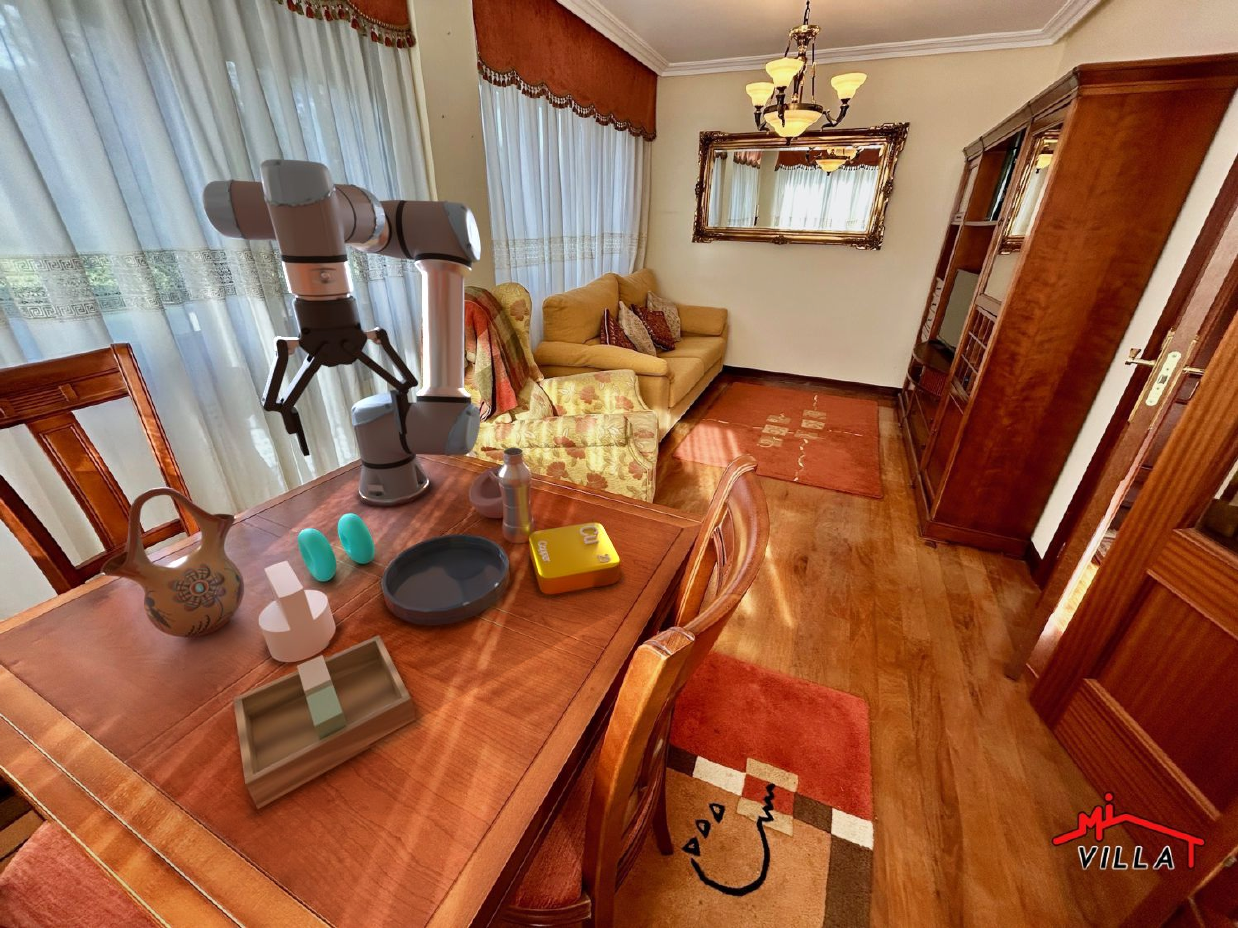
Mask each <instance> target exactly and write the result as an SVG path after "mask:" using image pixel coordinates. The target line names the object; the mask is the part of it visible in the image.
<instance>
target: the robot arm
mask: <svg viewBox="0 0 1238 928" xmlns="http://www.w3.org/2000/svg"><path fill="white" fill-rule="evenodd" d="M259 172H260V177H261V181H253V180H252V181H250V180H249V181H248V180H235V179H231V178H230V179H229V180H213V181H210V182H209V183H207V184H206V185H205V187H204V188H203V191H202V195H201V202H202V205H203V209H204V215H205V216H206V219H207V220H208V222H209V224H210V225H211V226H212V228H213V229H214V230H215V231H216V232H218V233H219V234H220V235H221V236H223V237H225V238H228V239H233V240H243V241H266V242H267V241H269V242H277V245H278V249H279V253H280V254H279V255H280V260H281V263H282V267H283V272H284V276H285V280H286V284H287V289H288V292H289V293H290V294H291V295H293V296H295V297H294V298H293V299H292V301H291V305H292V308H293V312H294V316H295V320H296V324H297V328H298V336H297V337H283V336H281V335H276V336H274V337H273V347H274V348H273V349H274V356H273V359H272V362H271V366H270V368H269V373H268V377H267V380H266V383H265V386H264V390H263V393H262V397H261V400H260V404H261V406H262V408H263V410H264V411H265V412H269V413H270V412H277V413H279V414H280V416H281V420H282V423H283V427H284V429H285V431H286V433H287V434H288V435H294V434H295V435H296V439H297V442H298V446H299V449H300V451H301V454H302V455H303V457H308V456H310V455H311V453H310V450H309V445H308V442H307V439H306V435H305V431H304V428H303V427H304V426H303V423H302V419H301V417H300V413H299V411H298V409H297V408H296V404H297V402H298V401H299V399H300V398H301V396H302V395H303V393H304V391H305V390H306V388H307V387H308V385H309V384H310V382H311V381H312V379H313V378H314V376H315V375H316V373H318V371H320V369H321V368H322V366H323V367H327V368H334V367H338V366H340V365H343V366H350V365H353V364H354V363H355V362H356V361H357V360H358V361H360V362H361V363H362V364H364V365H365V366H366V367H367V368H369V369H370V370H371V371H373V372H374V373H375V374H376V375H378V376H379V377H380V378H381V379H383V380H384V381H385V382H386V383H388V384H389V385H390V386H391V387H393V388H394V389H392V390H389V392H385V393H379V394H374V395H371V396H368V397H365V398H363V399H360V400H358V401H357V402H356V403H354V405H352V407H351V411H350V413H351V421H352V424H351V425H352V427H353V431H354V435H355V440H356V444H357V449H358V453H359V456H360V461H361V472H360V479H359V485H358V493H359V497H360V500H361V501H362V502H363V503H365V504H367V505H370V506H375V507H394V506H395V507H396V506H400V505H404V504H408V503H410V502H413V501H416V500H418V499H419V498H421V497H423V496H424V495H425V494H426V493H427V492H428V490H429V488H430V481H429V477H428V475H427V473H426V471H425V470H424V468H423V466H422V464H421V463H420V461H419V459H418V457H417V455H429V456H430V455H431V456H446V457H451V456H466V455H468V454H469V453H471V451H472V450H473V449H474V447H475V445H476V443H477V440H478V437H479V434H480V427H481V413H480V408H479V406H478V405H477V404H474V403H472V395H471V394H470V393H469V392H468V391H467V390H466V389H465V279H466V278H468V276H470V275H471V274H472V265H473V264H475V263H477V262H480V260H481V254H482V249H481V248H482V247H481V239H480V234H479V229H478V225H477V222H476V219H475V216H474V214H473V212H472V210H471V208H470V207H468V206H467V204H465V203H462V202H455V201H448V200H444V201H439V200H411V199H410V200H407V199H405V200H404V199H389V200H387V199H386V200H379V199H378V198H377V197H376V195H375V194H373V193H372V192H371V191H369V190H368V189H366V188H364V187H360V186H357V185H356V184H352V183H350V184H346V183H345V184H344V183H343V184H342V183H335V182H334V180H333V177H332V173H331V170H330V169H329V168H328V166H327V165H325V164H324V163H323V162H317V161H311V160H310V161H309V160H308V161H307V160H299V159H282V158H281V159H280V158H273V159H265V160H263V161H262V162H261V163H260V166H259ZM346 247H353V248H354V249H355V250H357V251H359V252H362V253H366V254H367V253H368V254H374V255H375V254H376V255H380V256H385V257H390V258H395V259H402V260H411V261H414V267H415V268H416V269H417V270H418V271H419V272H420V274H421V275H422V337H423V338H422V350H423V351H422V353H423V354H422V357H423V359H422V361H423V363H422V364H423V387H422V388H421V389H420V390H419V391H418V392H417V393H416V394H415V395H416V396H415V397H416V399H415V401H416V402H412V401H411V402H410V401H409V396H408V394H409V392H410V389H412V388H417V387H418V386H419V380H418V379H417V378H416V377H415V375H414V374H413V373H412V371H411V369H410V368H409V367H408V366H407V364H406V363H405V361H403V359H402V357H401V356H400V355H399V353H398V352H397V351H396V350H395V348H394V347H393V345H392V344H391V341H390V338H389V336H388V335H389V334H388V332H387V330H386V329H384V328H383V327H381V326H378V325H375V326H374V327H373V328H372V329H368V330H364V329H363V327H362V324H361V318H360V314H359V308H358V304H357V298H355V297H354V296H353V295H351V294H352V293H353V292H354V290H355V287H354V283H353V279H352V273H351V269H350V265H349V259H348V253H347V249H346ZM368 340H371V342H372V343H373V344H374V345H378V347H379V348H380V349H381V351H382V352H383V354H384V355H385V356H386V357H387V358H388V360H389V361H390V362H391V364H392V365H393V367H394V368H395V369H396V370H397V372H398V373H399V375H400V376H401V377H402V378H403V379H402V380H398V379H397V378H396V377H395V376H394V375H392V374H391V373H390V372H388V371H387V370H386V369H385V368H383V367H382V366H381V365H380V364H378V362H376V361H375V360H374V359H373V358H371V357H370V356H369V355H367V354H366V353H365V352H364V351H363V349H364V348H365V346H366V344H367V342H368ZM296 348H300V349H302V350H303V351H304V352H305V353H306V354H307V355H306V357H305V358H304V360H303V362H302V365H301V366H300V368H299V369H298V371H297V372H296V374H295V376H294V377H293V379H292V380H291V382H290V383H289V385H288V386H287V388H286V390H284V393H283V395H282V396H281V397H280V399H279V400H278V397H279V395H280V390H281V388H282V384H283V381H284V377H285V375H286V374H285V373H286V370H287V367H288V364H289V358H290V356H292V355H294V353H295V351H296Z"/></svg>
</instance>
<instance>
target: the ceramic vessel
mask: <svg viewBox="0 0 1238 928" xmlns="http://www.w3.org/2000/svg"><path fill="white" fill-rule="evenodd" d="M159 496H168V497H171V498H173V499H174V500H175V502H177V503H178V504H179V505H181V506H182V507H183V508H184V509H185V510H186V511H187V512H188V513H189V514H190V515H191V517H192V518H193V520H194V521H195V523H196V524H197V526H198V528H199V530H200V533H201V539H200V542H199V544H198V546H197V547H196V548H195V549H194V550H193V551H192V552H190V553H188V554H187V555H184V556H181V557H180V558H177V559H175V560H173V561H171V562H169V563H166V564H157V563H155V562H152V561H151V560H150V558H149V557H148V555H147V552H146V550H145V548H144V544H143V540H142V535H141V514H142V508H143V506H144V504H145V503H146V502H148V501H149V500H151V499H153V498H155V497H159ZM236 520H237V516H235V515H234V514H229V513H212V514H211V512H209V511H206V510H205V509H203V508H202V507H200V506H198V505H197V504H196V503H194V502H193V501H192V500H190V499H189V498H188V497H187V496H186V495H185V494H183V493H182V492H180V490H179V491H178V490H177V489H175V488H172V487H155V488H149V489H148V490H146V491H144V492H143V493H141V494H140V495H138V496H137V497H135V499H134V500H133V502H132V503H131V505H130V508H129V513H128V530H127V539H126V544H125V546H124V550H123V551H122V552H119V553H117V554H115V555H113V556H111V557H109V558H108V559H107V560H106V561H105V562H104V563H103V564H102V566H101V567H100V574H101V575H103V576H108V577H116V578H124V579H127V580H131V581H134V582H136V584H138V585H139V586H140V587H141V588H142V590H143V592H144V598H143V606H144V610H145V614H146V616H147V619H148V620H149V622H150V623H151V624H152V625H153V626H154V628H156V629H157V630H159V631H160V632H162V633H163V634H164V633H165V634H166V635H169V636H173V637H176V638H197V637H202V636H206V635H208V634H211V633H213V632H215V631H217V630H219V629H220V628H222V627H223V626H225V625H226V624H227V623H228V622H229V621H230V620H231V619H232V618H233V616H234V615H235V614H236V613H237V611H238V609H239V608H240V606H241V604H242V601H243V598H244V594H245V582H244V577H243V574H242V572H241V570H240V568H239V567H238V566H237V565H236V564H235V563H234V562H233V561H232V560H231V559H230V558H229V556H228V555H227V554H226V551H225V544H226V543H225V542H226V539H227V535H228V534H229V532H230V529H231V527H233V525H234V523H235V522H236Z"/></svg>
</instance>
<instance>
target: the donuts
mask: <svg viewBox="0 0 1238 928" xmlns="http://www.w3.org/2000/svg"><path fill="white" fill-rule="evenodd" d="M337 534H338V538H339V541H340V543H341V546H342V548H343V550H344V551H345V553H346V554H347V556H348V558H349V559H351V560H352V561H354V562H355V563H357V564H360V565H366V564H368V563H371V562H372V561H373V560H374V558H375V555H376V549H375V544H374V540H373V537H372V535H371V532H370V530H369V527H368V526H367V525H366V522H365V521H364V520H363V519H362V518H361V517H360V516H359V515H358V514H356V513H352V512H349V513H345V514H343V515H342V516H341V517H340V519H338V523H337ZM297 544H298V550H299V553H300V555H301V557H302V560H303V562H304V564H305V566H306V567H307V570H308V571H309V573H310V574H311V575H312V577H313V578H314V579H315V580H317V581H319V582H328V581H330V580H331V579H332V578H334V576H335V574H336V572H337V559H336V555H335V552H334V550H333V548H332V546H331V544H330V542H329V540H328V538H327V537H326V536H325V534H323V533H322V532H321V531H319V530H318V529H315V528H312V527H309V528H304V529H303V530H301V531H300V532H299V533H298V536H297Z"/></svg>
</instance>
